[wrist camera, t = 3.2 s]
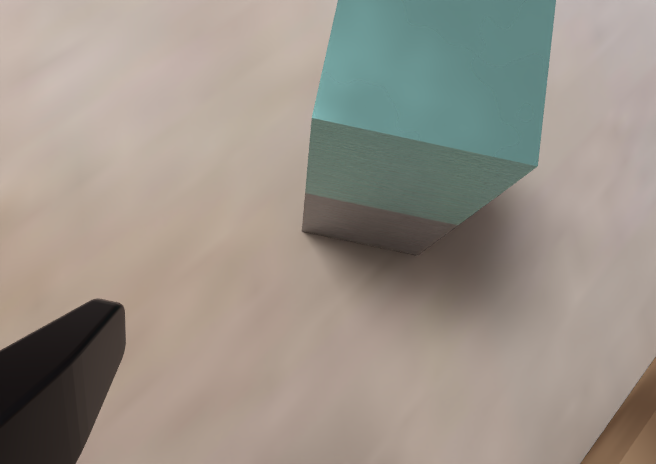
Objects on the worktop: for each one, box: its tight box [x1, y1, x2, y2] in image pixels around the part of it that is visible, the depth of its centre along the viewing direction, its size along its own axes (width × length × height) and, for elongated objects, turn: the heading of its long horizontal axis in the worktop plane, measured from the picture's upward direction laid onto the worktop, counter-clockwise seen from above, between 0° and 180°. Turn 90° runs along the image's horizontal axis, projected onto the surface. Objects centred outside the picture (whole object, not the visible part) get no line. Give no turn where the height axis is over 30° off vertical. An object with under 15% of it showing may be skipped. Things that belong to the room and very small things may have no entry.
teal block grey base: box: [302, 0, 556, 255], centre depth 17 cm, size 5×5×11 cm
